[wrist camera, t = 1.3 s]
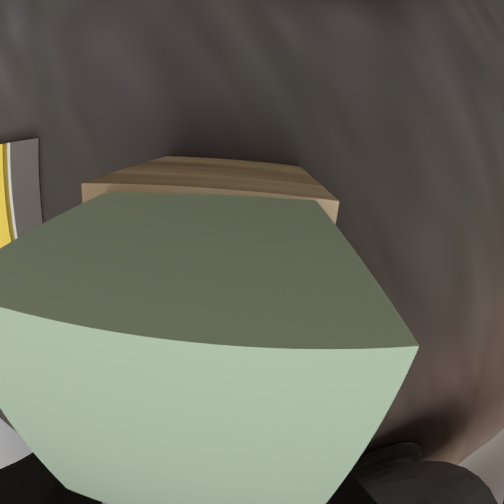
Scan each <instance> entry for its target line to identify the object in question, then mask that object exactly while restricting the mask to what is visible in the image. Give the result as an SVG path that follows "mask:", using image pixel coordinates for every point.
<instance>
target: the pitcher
mask: <svg viewBox="0 0 504 504" xmlns="http://www.w3.org/2000/svg"><path fill="white" fill-rule="evenodd" d="M422 456H423V452H422V450H421V447H420V445H419V444H417V443H413V442H401V443H394V444H391V445H388V446H385V447H381V448H378V449H375V450H373V451H371V452H368V453H366V454H364V455H361V456H360V457H359V459H358V460H357V462H356V463H355V465H354V466H353V468H352V471H353V472H354V474H355V475H356V477H357V478H358V480H359V481H360V482H361V484H362V485H363V486H364V488H365V489H366V490H367V491H368V493H369V494H370V495H371V496H372V497H373V499H374V500H375V501H376V502H377V503H378V504H497V501H496V500H495V498H494V496H493V494H492V492H491V490H490V488H489V487H488V486H487V485H486V484H485V483H484V482H483V481H482V480H481V479H480V478H479V476H477V475H475V474H474V473H472V472H471V471H469V470H468V469H466V468H464V467H461V466H458V465H454V464H451V463H447V462H439V461H422V462H419V461H420V459H421V458H422ZM503 504H504V502H503Z"/></svg>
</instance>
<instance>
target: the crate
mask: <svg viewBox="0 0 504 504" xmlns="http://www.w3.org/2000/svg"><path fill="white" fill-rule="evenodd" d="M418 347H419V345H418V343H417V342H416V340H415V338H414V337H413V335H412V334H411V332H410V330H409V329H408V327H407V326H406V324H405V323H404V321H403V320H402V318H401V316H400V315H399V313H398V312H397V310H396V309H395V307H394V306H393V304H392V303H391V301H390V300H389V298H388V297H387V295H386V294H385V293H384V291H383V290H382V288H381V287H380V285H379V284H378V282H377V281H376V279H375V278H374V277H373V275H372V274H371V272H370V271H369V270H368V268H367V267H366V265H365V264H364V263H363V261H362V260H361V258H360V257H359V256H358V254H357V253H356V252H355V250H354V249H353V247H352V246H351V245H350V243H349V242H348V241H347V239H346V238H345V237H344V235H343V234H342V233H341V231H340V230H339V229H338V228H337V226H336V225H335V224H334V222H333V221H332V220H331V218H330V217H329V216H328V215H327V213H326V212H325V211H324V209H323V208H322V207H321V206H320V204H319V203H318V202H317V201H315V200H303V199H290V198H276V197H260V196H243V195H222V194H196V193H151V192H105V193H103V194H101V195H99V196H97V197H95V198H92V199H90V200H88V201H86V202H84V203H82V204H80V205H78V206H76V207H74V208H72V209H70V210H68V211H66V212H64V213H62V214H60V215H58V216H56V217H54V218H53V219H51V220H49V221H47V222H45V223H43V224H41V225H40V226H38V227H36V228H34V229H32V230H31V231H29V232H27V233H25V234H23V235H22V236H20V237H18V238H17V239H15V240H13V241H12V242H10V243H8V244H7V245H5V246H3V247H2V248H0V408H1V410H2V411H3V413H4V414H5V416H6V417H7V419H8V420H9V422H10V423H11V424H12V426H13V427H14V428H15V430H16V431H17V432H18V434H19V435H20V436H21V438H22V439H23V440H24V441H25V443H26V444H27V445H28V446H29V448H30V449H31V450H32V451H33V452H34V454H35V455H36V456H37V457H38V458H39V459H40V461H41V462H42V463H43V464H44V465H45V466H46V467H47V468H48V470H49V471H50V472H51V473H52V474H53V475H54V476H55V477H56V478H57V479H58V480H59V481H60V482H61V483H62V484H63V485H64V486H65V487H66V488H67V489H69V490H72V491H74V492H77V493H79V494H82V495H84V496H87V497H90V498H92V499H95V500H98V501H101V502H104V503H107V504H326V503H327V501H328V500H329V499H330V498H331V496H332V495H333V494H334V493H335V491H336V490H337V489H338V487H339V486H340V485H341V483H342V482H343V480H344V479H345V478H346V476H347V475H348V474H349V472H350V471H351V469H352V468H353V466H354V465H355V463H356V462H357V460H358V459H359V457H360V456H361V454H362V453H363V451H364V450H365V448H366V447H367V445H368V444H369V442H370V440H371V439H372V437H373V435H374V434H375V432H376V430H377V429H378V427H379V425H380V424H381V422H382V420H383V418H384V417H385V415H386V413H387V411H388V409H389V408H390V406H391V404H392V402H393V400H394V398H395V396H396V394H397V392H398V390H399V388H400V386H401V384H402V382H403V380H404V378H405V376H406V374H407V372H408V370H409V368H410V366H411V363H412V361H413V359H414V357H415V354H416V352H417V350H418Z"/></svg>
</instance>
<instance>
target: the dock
mask: <svg viewBox="0 0 504 504" xmlns="http://www.w3.org/2000/svg"><path fill="white" fill-rule="evenodd" d="M41 224H43V221H42V211H41V200H40V186H39V162H38V138H36V139H29V140H22V141H16V142H10V143H4V144H0V248H2V247H3V246H5V245H7V244H8V243H10V242H12V241H13V240H15V239H17V238H18V237H20V236H22V235H23V234H25V233H27V232H29V231H31V230H32V229H34V228H36V227H38V226H40V225H41Z"/></svg>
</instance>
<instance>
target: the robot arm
mask: <svg viewBox="0 0 504 504" xmlns="http://www.w3.org/2000/svg"><path fill="white" fill-rule="evenodd" d="M0 504H107V503H104V502H101V501H98V500H95V499H92V498H90V497H87V496H84V495H82V494H79V493H77V492H74V491H72V490H69V489H67V488H66V487H65V486H64V485H63V484H62V483H61V482H60V481H59V480H58V479H57V478H56V477H55V476H54V475H53V474H52V473H51V472H50V471H49V470H48V468H47V467H46V466H45V465H44V464H43V463H42V462H41V461H40V459H39V458H38V457H37V456H36V455H35V454H34V452H33V453H31V454H30V455H28V456H26V457H25V458H23V459H21V460H19V461H17V462H15V463H13V464H11V465H9V466H6V467H4V468H2V469H0ZM326 504H378V503H377V502H376V501H375V500H374V499H373V497H372V496H371V495H370V494H369V493H368V491H367V490H366V489H365V488H364V486H363V485H362V484H361V482H360V481H359V480H358V478H357V477H356V475H355V474H354V472H353V471H352V469H351V471H350V472H349V474H348V475H347V476H346V478H345V479H344V480H343V482H342V483H341V485H340V486H339V487H338V489H337V490H336V491H335V493H334V494H333V495H332V496H331V498H330V499H329V500H328V501H327V503H326Z"/></svg>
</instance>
